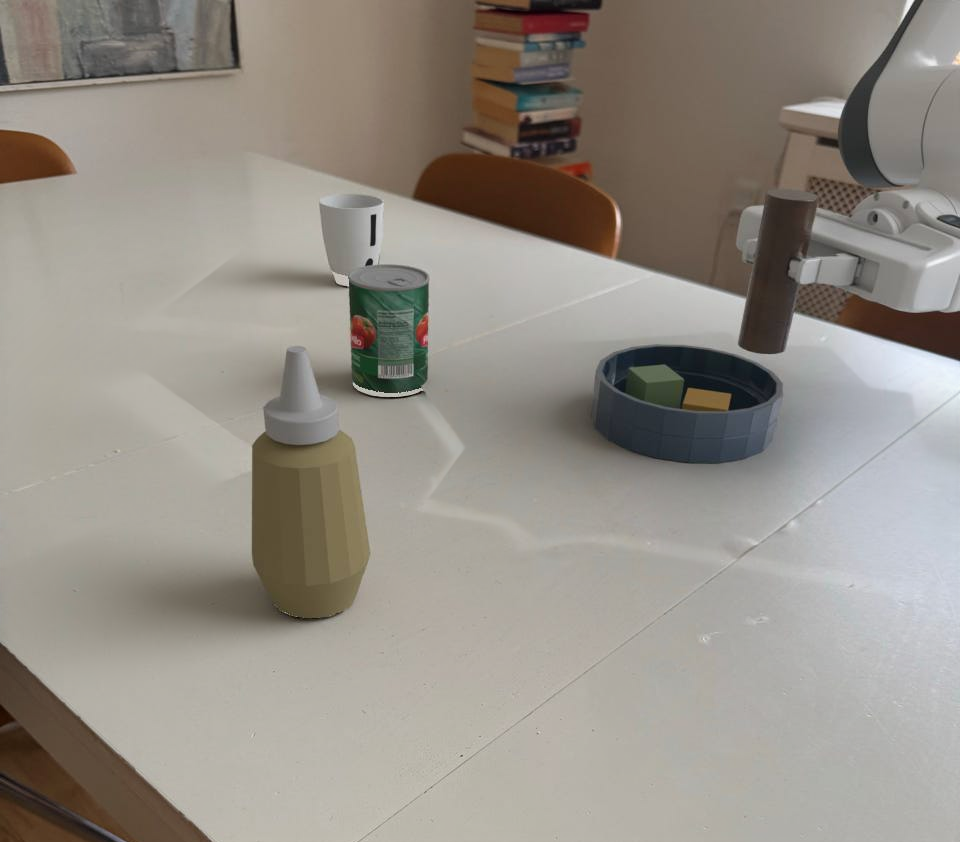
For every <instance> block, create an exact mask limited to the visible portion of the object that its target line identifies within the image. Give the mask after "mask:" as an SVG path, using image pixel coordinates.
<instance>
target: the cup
mask: <svg viewBox="0 0 960 842" xmlns="http://www.w3.org/2000/svg"><path fill="white" fill-rule="evenodd" d="M318 205H319V216H320V225H321V232H322V233H321V234H322V239H323V245H324V248H325V253H326V257H327V263H328V265H329V268H330V271H331V270H332V271H333V272H335V273H337V274H341V275H345V276H348V274H349V273H350V272H351V271H352V270H354V269H357V268H360V267H364V266H369V265H380V259H381V251H382V244H383V237H384V209H385V200H384V199H383V198H381V197H378V196H375V195H370V194H362V193H337V194H336V193H335V194H329V195H326V196H323V197H320V198H319V199H318Z"/></svg>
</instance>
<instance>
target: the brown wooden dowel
mask: <svg viewBox="0 0 960 842" xmlns="http://www.w3.org/2000/svg"><path fill="white" fill-rule="evenodd" d="M765 194H766V195H765V199H764V204H763V205H764V209H763V214H762V219H761V224H760V230H759V235H758V240H757V245H756V250H755V256H754V261H753V265H752V266H751V271H750V272H751V273H750V277H749V282H748V286H747V293H746V297H745V305H744V308H743V314H742V319H741V324H740V329H739V334H738V340H737V345H738V347H740V348H741V349H742V350H745V351H747V352H749V353H753V354H760V355H778V354H782V353H784V352H785V351H786V349H787V346H788V341H789V337H790V332H791V327H792V324H793V323H792V322H793V318H794V314H795V309H796V305H797V300H798V296H799V291H800V286H801V284H800V283H797V282H795V281H792V280H790V279H788V278H787V272H788V270H789V269H790V268H789V263H790V260H791V259H792V258H793V257H795V256H802V255H807V251H808V246H809V242H810V237H811V233H812V228H813V224H814V219H815V215H816V210H817V207H818V205H819V201H820V196H819V195H817V194H815V193H813V192H810V191H805V190H799V189H791V188H777V189H775V188H774V189H770V190H768V191H767V192H766V193H765Z"/></svg>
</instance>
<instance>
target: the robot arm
mask: <svg viewBox="0 0 960 842" xmlns="http://www.w3.org/2000/svg"><path fill="white" fill-rule="evenodd" d="M959 53H960V0H913V1H912V3H911V5H910V6H909V8H908V10H907V11H906V13H905V16H903V19H902V20H901V21H900V24H899V26H898V27H897V29H896V30H895V32H894V33H893V35H892V38H891V39H890V40H889V42H888V44H887V45H886V47H885V48H884V50H883V51H882V52H881V54H880V55H879V56H878V58H877V59H876V60H875V61H874V62H873V63H872V65H871V66H870V67H869V68H868V69H867V70H866V72H864V74H863V75H862V77H860V79H859V81H858V82H857V83H856V85H855V86H854V87H853V89H852V91H851V92H850V93H849V95H848V97H847V99H846V101H845V103H844V105H843V107H842V110H841V114H840V117H839V121H838V127H837V144H838V150H839V154H840V156H841V160H842V162H843V164H844V166H845V168H846V170H847V172H848V174H849V175H850V176H851V178H852V179H853V180H854V181H855V182H856V183H857V184H858V185H860V186H862V187H864V188H868V189H885V188H900V187H901V189H894V190H883V191H878V192H875V193H871V194H870V195H868V196H867V197H865V198H863V199H862V200H861V201H859V203H858V204H856V206H855V207H854V208H853V210H852V211H851V212H850V214H849V215H848V216H847V215H844V214H841V213H837V212H835V211H830V210H828V209H824V208H821V207H818V206H817V210H816V215H815V219H814V224H813V228H812V233H811V237H810V242H809V246H808V251H807V255H802V256H795V257H793V258H792V259H791V260H790V263H789V268H790V269H789V270H788V272H787V278H788V279H790V280H792V281H795V282H797V283H800V285H807V284H820V285H821V284H822V285H830V286H833V287H836V288H838V289H841V290H844V291H846V292H849V293H851V294H853V295H856V296H859V297H860V298H862V299H864V300H866V301H870V302H874V303H877V304H880V305H883V306H885V307H888V308H891V309H893V310H896V311H901V312H906V313H917V314H918V313H929V312H938V311H939V312H941V313H956V312H960V64H953V63H954V62H955V60H956V58H957V56H958V55H959ZM906 186H907V187H913V188H904V189H902V187H906ZM763 209H764V204H761V205H760V204H759V205H750V206H747V207H745V209H743V211H742V212H741V214H740V219H739V223H738V227H737V232H736V233H737V234H736V240H735V246H736V248H737V250H739V251H740V252H742V254H741V260H742V262H743V263H746V264H749V265H752V266H753V261H754V256H755V250H756V245H757V240H758V235H759V230H760V224H761V219H762V214H763Z"/></svg>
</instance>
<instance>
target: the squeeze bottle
mask: <svg viewBox="0 0 960 842" xmlns="http://www.w3.org/2000/svg"><path fill="white" fill-rule="evenodd" d="M284 360H285V361H284V367H283V374H282V380H281V386H280V387H281V388H280V394H279V395H278V396H275V397H273V398H271V399H269V400H267V402H266V403H265V404H264V406H263V407H262V409H263V411H262V412H263V420H264V429H265V431H263V433H261V434H260V435H258V436H257V438H256V439H255V441H254V442H253V443H252V444H251V558H252V565H253V568H254V570H255V572H256V573H257V576H258V577H259V579H260V581H261V583H262V586H263V587H264V589H265V591H266V593H267V595H268V597H269V598H270V600H271V603H272V604H273V605H274V604H275V605H276V606H277V607H278V608H279V609H280V610H281V611H283V612H286V613H288V614H290V615H293V616H297V617H304V618H310V619H309V620H312V619H311V618H319V617H328V618H330V617H333V616H335V614H336V613H339V614H341V613H340V612H342V611H343V612H344V610H345V611H346V610H347V609H349V608H350V607H351V606H352V605H353V604H354V602H355V599H356V597H357V594H358V592H359V588H360V585H361V583H362V580H363V577H364V575H365V571H366V568H367V565H368V562H369V560H370V556H371V549H370V541H369V534H368V527H367V521H366V515H365V514H366V513H365V506H364V501H363V493H362V487H361V479H360V473H359V467H358V461H357V460H358V459H357V453H356V446H355V443H354V440H353V438H352V437H351V436H350V435H348V434H347V433H346V432H344V431H343V430H341V429H340V415H339V414H340V413H339V411H340V409H339V405H338V403H337V401H335V399H332V398H331V397H329V396H326V395H323V394H320V392H319V389H318V388H319V387H318V385H317V382H316V378H315V375H314V374H315V373H314V370H313V368H312V364H311V360H310V357H309V354H308V349H307V347H306V346H304V345H303V346H302V345H291V346H287V348H286V351H285V359H284ZM275 605H274V606H275ZM276 606H275V607H276ZM349 606H350V607H349ZM277 607H276V608H277ZM278 608H277V609H278ZM346 608H347V609H346ZM279 609H278V610H279ZM280 610H279V611H280ZM281 611H280V612H281ZM343 612H342V613H343ZM290 615H289V616H290ZM330 615H331V616H330ZM332 615H333V616H332ZM336 615H337V614H336ZM329 616H330V617H329ZM319 619H320V618H319Z"/></svg>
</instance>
